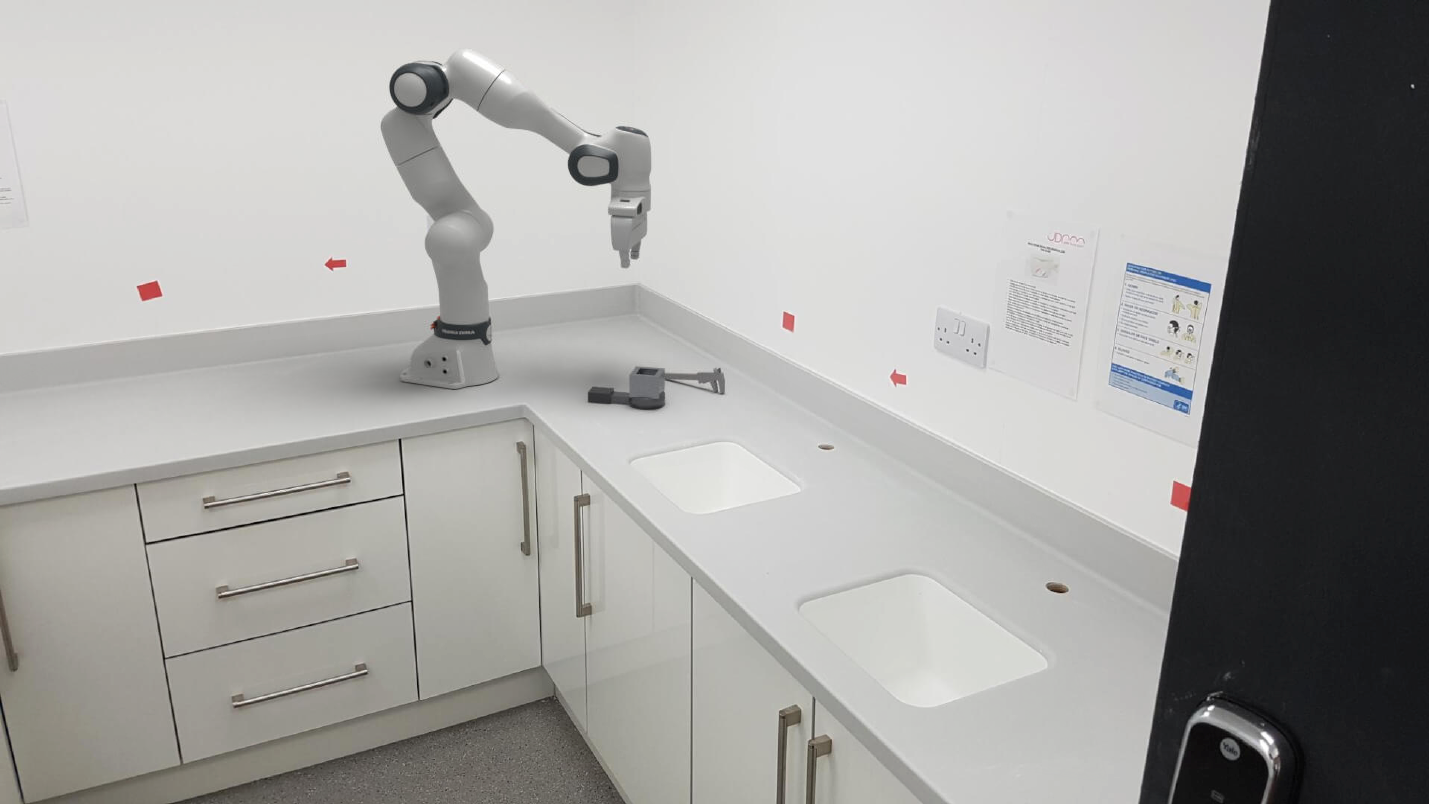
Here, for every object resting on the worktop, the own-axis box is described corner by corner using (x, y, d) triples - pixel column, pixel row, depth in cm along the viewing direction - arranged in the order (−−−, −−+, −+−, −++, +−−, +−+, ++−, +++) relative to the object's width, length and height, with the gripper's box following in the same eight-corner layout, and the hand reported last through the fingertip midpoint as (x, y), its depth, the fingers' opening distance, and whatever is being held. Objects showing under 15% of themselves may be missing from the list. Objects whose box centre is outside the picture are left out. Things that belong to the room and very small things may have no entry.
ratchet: (668, 399, 247) (668, 373, 245) (661, 411, 240) (661, 385, 238) (594, 393, 249) (594, 368, 247) (585, 405, 242) (585, 379, 240)
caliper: (724, 394, 252) (725, 368, 250) (722, 395, 251) (723, 369, 249) (655, 376, 263) (655, 351, 261) (652, 378, 262) (652, 352, 260)
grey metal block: (629, 396, 240) (629, 375, 239) (635, 387, 247) (635, 366, 245) (658, 399, 240) (659, 377, 238) (664, 389, 246) (664, 368, 244)
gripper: (627, 194, 254) (627, 253, 258) (605, 208, 234) (605, 271, 239) (654, 195, 253) (653, 254, 257) (634, 210, 234) (633, 273, 238)
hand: (630, 263), depth 248 cm, fingers open, 8 cm apart
